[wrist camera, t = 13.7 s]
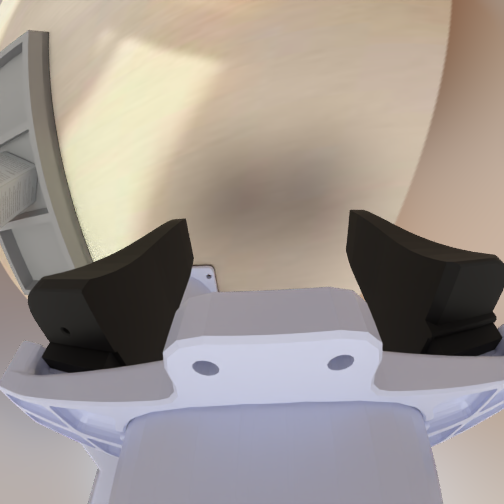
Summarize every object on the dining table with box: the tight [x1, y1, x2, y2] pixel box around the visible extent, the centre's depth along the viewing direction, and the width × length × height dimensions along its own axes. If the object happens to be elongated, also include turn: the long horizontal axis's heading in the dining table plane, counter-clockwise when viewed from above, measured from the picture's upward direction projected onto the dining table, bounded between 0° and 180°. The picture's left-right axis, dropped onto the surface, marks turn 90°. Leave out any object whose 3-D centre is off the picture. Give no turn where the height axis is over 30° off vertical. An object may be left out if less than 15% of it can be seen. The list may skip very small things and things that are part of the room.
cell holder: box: [0, 30, 93, 295], centre depth 19 cm, size 27×12×3 cm, turn 4°
